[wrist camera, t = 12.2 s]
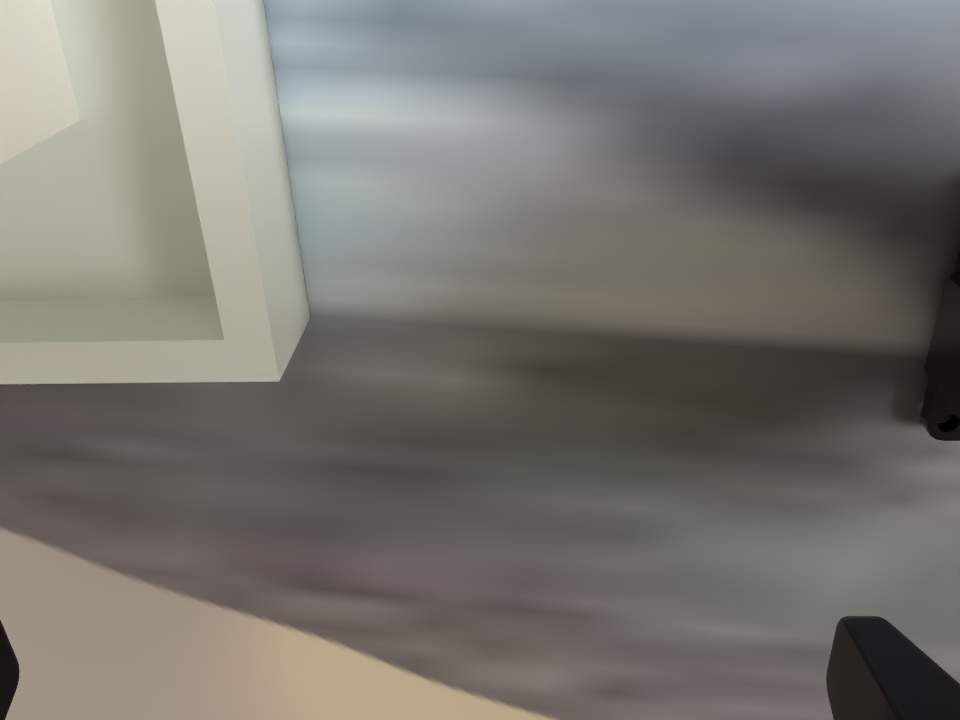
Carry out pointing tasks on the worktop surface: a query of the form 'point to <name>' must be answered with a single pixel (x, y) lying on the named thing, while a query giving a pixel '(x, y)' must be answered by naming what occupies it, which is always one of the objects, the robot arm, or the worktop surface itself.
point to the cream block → (32, 77)
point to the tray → (154, 206)
